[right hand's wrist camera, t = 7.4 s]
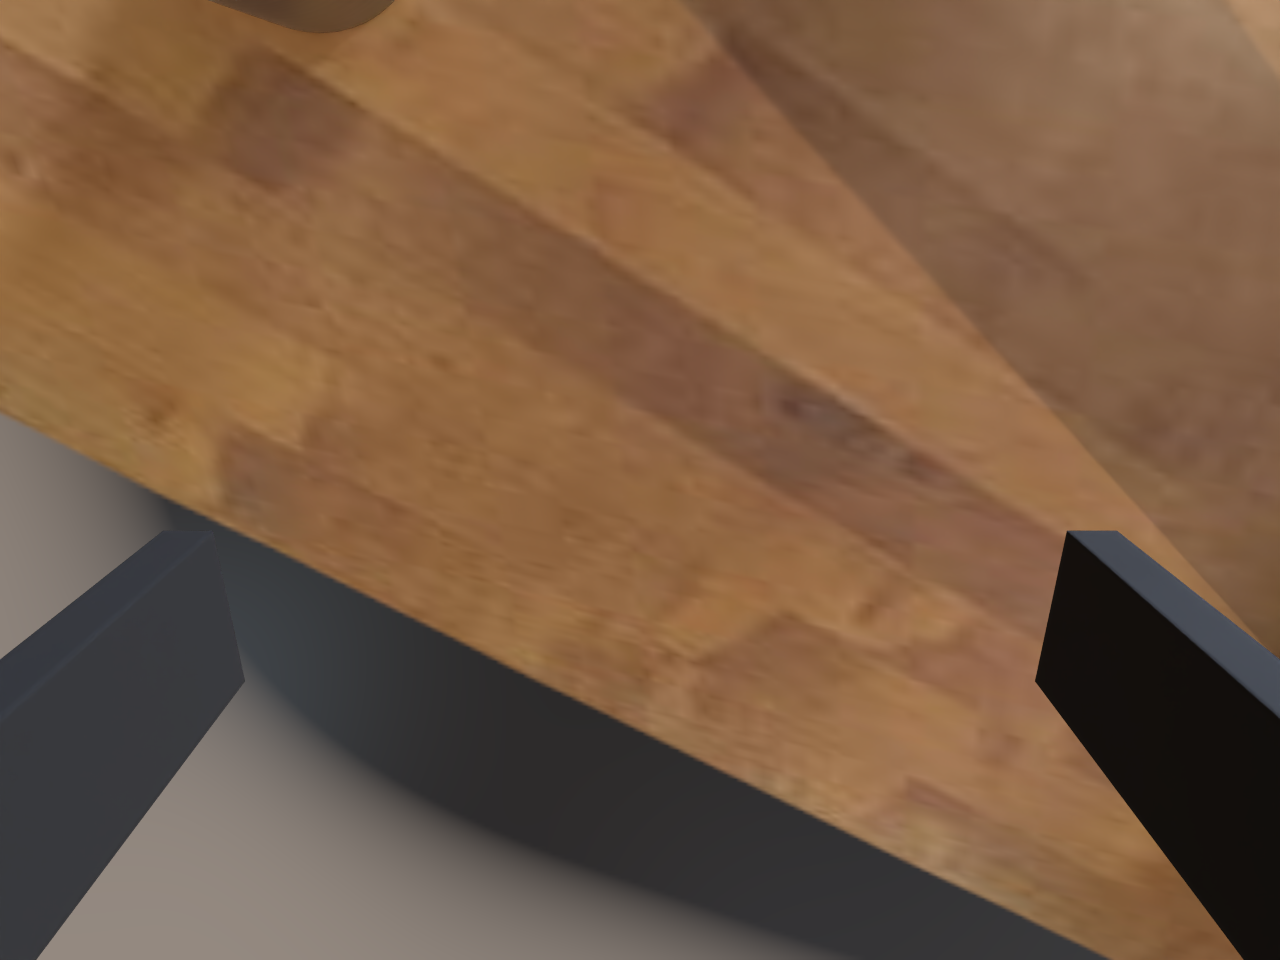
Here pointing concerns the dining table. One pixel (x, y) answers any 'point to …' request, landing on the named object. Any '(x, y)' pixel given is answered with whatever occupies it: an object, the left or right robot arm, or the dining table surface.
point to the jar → (311, 12)
